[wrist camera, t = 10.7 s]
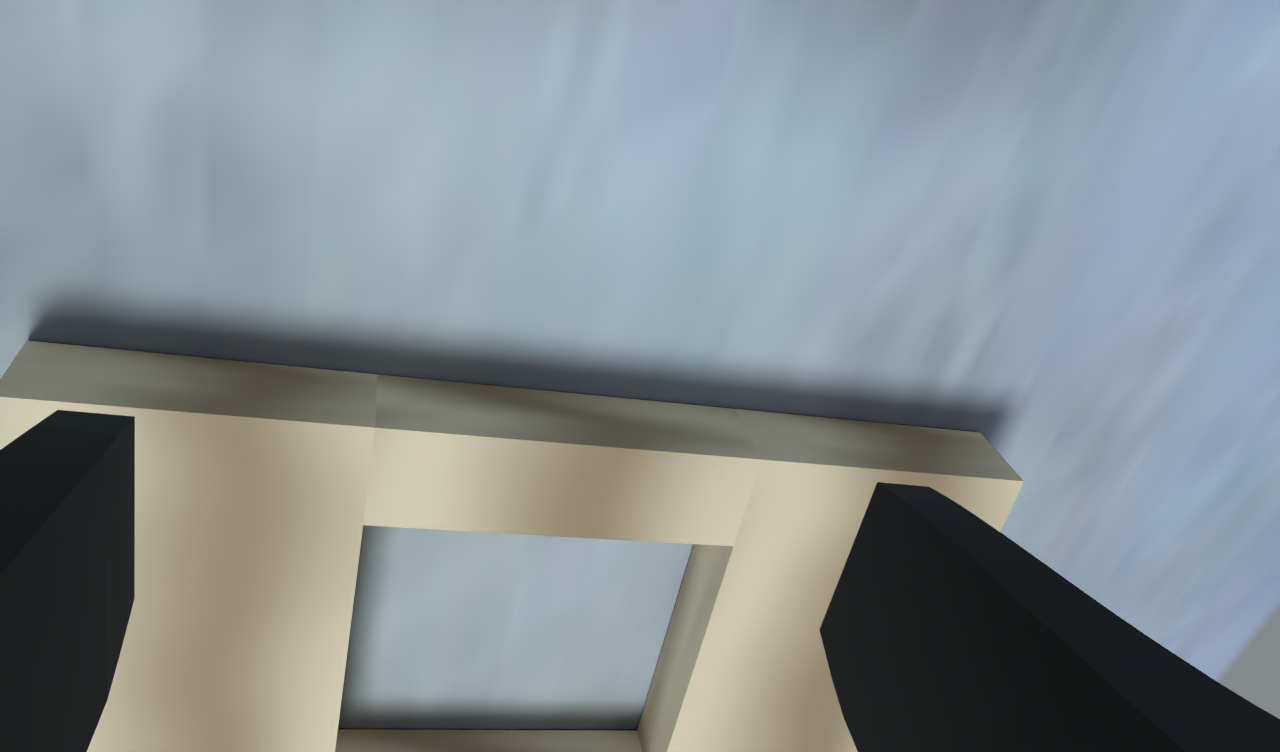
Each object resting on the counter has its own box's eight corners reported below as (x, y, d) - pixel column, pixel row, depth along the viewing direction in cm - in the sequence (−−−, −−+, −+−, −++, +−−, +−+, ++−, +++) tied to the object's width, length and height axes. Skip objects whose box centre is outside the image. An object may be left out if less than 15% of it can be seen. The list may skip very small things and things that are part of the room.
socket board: (49, 796, 24) (22, 873, 22) (26, 340, 19) (-11, 395, 17) (827, 786, 30) (853, 847, 28) (980, 432, 24) (1024, 481, 23)
